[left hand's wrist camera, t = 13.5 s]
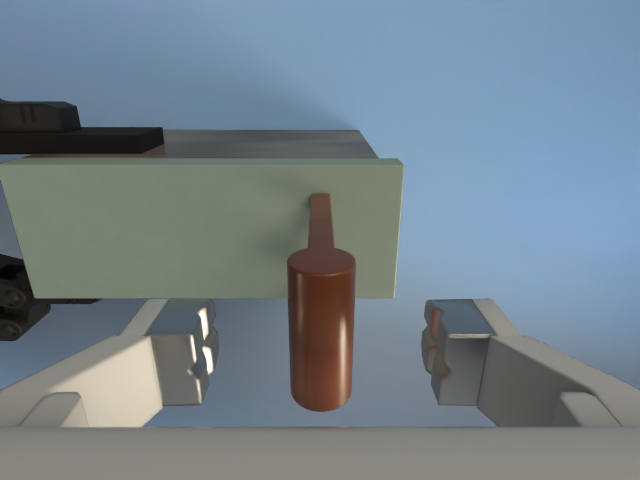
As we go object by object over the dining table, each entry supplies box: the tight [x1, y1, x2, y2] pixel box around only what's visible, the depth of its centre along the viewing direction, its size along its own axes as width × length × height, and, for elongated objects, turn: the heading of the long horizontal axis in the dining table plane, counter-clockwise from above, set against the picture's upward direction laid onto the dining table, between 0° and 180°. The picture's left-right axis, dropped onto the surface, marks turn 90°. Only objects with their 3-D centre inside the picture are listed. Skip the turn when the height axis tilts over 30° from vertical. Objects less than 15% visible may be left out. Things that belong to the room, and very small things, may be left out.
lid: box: [0, 158, 405, 412], centre depth 13 cm, size 15×5×8 cm, turn 90°
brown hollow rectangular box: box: [23, 130, 379, 159], centre depth 21 cm, size 14×5×9 cm, turn 90°
